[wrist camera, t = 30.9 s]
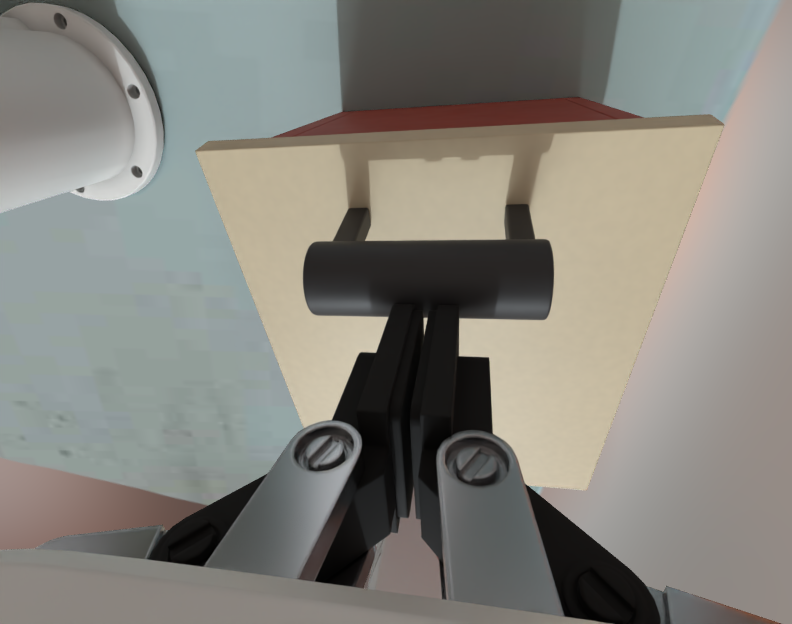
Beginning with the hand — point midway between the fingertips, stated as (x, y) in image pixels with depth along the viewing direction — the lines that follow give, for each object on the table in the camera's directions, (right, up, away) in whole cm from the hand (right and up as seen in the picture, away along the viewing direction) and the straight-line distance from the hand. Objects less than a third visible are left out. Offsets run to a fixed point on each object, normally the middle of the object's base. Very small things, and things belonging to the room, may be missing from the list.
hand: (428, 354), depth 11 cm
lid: (+1, -1, +8) cm, 8 cm away
